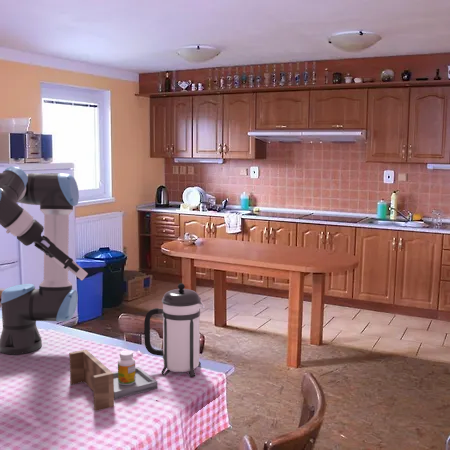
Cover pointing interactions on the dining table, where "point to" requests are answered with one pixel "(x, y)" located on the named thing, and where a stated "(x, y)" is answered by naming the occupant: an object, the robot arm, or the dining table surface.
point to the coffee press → (178, 330)
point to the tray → (140, 385)
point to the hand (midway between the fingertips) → (77, 272)
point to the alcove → (93, 377)
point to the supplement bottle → (126, 368)
